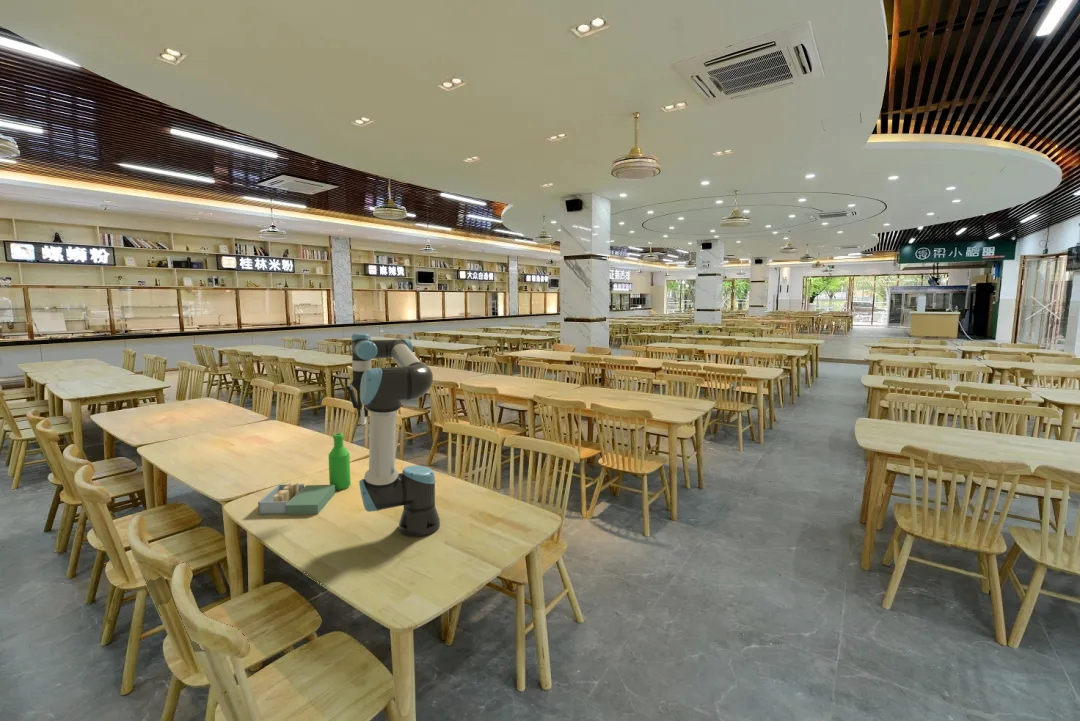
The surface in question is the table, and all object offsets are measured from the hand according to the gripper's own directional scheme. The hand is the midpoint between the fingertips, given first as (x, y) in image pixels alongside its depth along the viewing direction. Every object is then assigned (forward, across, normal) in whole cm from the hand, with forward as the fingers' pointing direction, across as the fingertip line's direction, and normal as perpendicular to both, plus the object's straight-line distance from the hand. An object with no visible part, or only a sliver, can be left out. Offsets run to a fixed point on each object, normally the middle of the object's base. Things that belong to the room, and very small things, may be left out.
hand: (363, 423), depth 199 cm
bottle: (+33, +14, -10) cm, 37 cm away
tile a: (+29, +29, +11) cm, 42 cm away
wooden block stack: (+29, +28, +3) cm, 40 cm away
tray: (+32, +32, +7) cm, 46 cm away
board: (+32, +20, +7) cm, 39 cm away
